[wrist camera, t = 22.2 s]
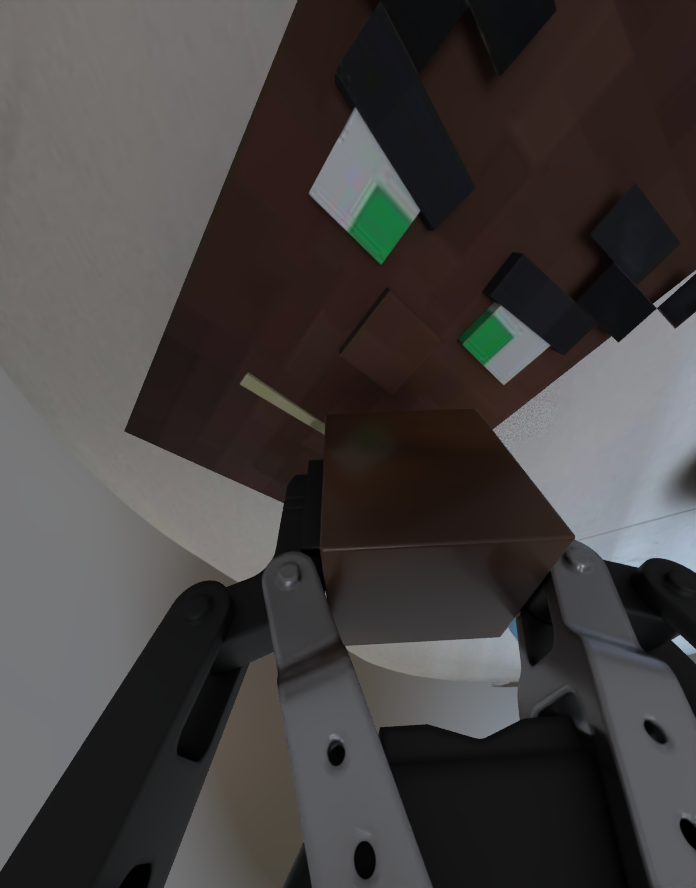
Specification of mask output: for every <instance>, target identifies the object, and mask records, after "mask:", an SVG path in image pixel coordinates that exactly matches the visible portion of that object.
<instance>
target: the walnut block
mask: <svg viewBox="0 0 696 888" xmlns="http://www.w3.org/2000/svg"><path fill="white" fill-rule="evenodd" d="M574 539H575V535H574V534H573V532H572V531H571V530H570V529H569V527H568V526H567V525H566V523H565V522H564V521H563V520H562V518H561V517H560V516H559V515H558V513H557V512H556V511H555V509H554V508H553V507H552V506H551V504H550V503H549V502H548V500H547V499H546V498H545V497H544V495H543V494H542V493H541V492H540V490H539V489H538V488H537V486H536V485H535V484H534V483H533V481H532V480H531V479H530V477H529V476H528V475H527V474H526V472H525V471H524V470H523V469H522V467H521V466H520V465H519V463H518V462H517V461H516V460H515V458H514V457H513V456H512V454H511V453H510V452H509V451H508V449H507V448H506V447H505V446H504V444H503V443H502V442H501V440H500V439H499V438H498V437H497V435H496V434H495V433H494V432H493V430H492V429H491V428H490V426H489V425H488V424H487V423H486V421H485V420H484V419H483V417H482V416H481V415H480V414H479V412H478V411H477V410H476V409H474V408H472V409H448V410H424V411H400V412H375V413H351V414H328V415H326V416H325V435H324V459H323V482H322V506H321V529H320V555H321V562H322V569H323V576H324V582H325V589H326V596H327V601H328V604H329V607H330V610H331V613H332V615H333V618H334V621H335V624H336V627H337V630H338V632H339V635H340V638H341V640H342V642H343V644H344V645H345V646H349V645H367V644H385V643H403V642H421V641H438V640H456V639H474V638H492V637H500V636H501V635H502V634H503V633H504V631H505V630H506V629H507V627H508V626H509V625H510V623H511V622H512V621H513V619H514V618H515V617H516V615H517V614H518V613H519V612H520V610H521V609H522V608H523V606H524V605H525V604H526V602H527V601H528V600H529V598H530V597H531V596H532V594H533V593H534V592H535V591H536V589H537V588H538V587H539V585H540V584H541V583H542V581H543V580H544V579H545V577H546V576H547V575H548V574H549V572H550V571H551V570H552V568H553V567H554V566H555V564H556V563H557V562H558V560H559V559H560V558H561V556H562V555H563V554H564V553H565V551H566V550H567V549H568V547H569V546H570V545H571V543H572V542H573V541H574Z"/></svg>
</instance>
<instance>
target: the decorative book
mask: <svg viewBox="0 0 696 888" xmlns="http://www.w3.org/2000/svg"><path fill="white" fill-rule="evenodd" d="M695 270H696V0H298V1H297V3H296V6H295V8H294V11H293V13H292V16H291V18H290V21H289V23H288V26H287V28H286V31H285V33H284V36H283V38H282V41H281V43H280V46H279V48H278V51H277V53H276V55H275V58H274V60H273V63H272V65H271V68H270V70H269V73H268V75H267V78H266V80H265V83H264V85H263V88H262V90H261V93H260V95H259V98H258V100H257V103H256V105H255V108H254V110H253V113H252V115H251V118H250V120H249V123H248V125H247V128H246V130H245V133H244V135H243V137H242V140H241V142H240V145H239V147H238V150H237V152H236V155H235V157H234V160H233V162H232V165H231V167H230V170H229V172H228V175H227V177H226V180H225V182H224V185H223V187H222V190H221V192H220V195H219V197H218V200H217V202H216V205H215V207H214V210H213V212H212V214H211V217H210V219H209V222H208V224H207V227H206V229H205V232H204V234H203V237H202V239H201V242H200V244H199V247H198V249H197V252H196V254H195V257H194V259H193V262H192V264H191V267H190V269H189V272H188V274H187V277H186V279H185V282H184V284H183V287H182V289H181V292H180V294H179V296H178V299H177V301H176V304H175V306H174V309H173V311H172V314H171V316H170V319H169V321H168V324H167V326H166V329H165V331H164V334H163V336H162V339H161V341H160V344H159V346H158V349H157V351H156V354H155V356H154V359H153V361H152V364H151V366H150V369H149V371H148V374H147V376H146V378H145V381H144V383H143V386H142V388H141V391H140V393H139V396H138V398H137V401H136V403H135V406H134V408H133V411H132V413H131V416H130V418H129V421H128V423H127V426H126V428H125V432H127V433H129V434H131V435H134V436H136V437H138V438H140V439H143V440H145V441H147V442H149V443H152V444H154V445H156V446H158V447H160V448H163V449H165V450H167V451H169V452H172V453H174V454H176V455H178V456H180V457H183V458H185V459H187V460H189V461H192V462H194V463H196V464H198V465H200V466H203V467H205V468H207V469H209V470H212V471H214V472H216V473H218V474H220V475H223V476H225V477H227V478H229V479H232V480H234V481H236V482H238V483H241V484H243V485H245V486H247V487H249V488H252V489H254V490H256V491H258V492H261V493H263V494H265V495H267V496H269V497H272V498H274V499H276V500H278V501H281V502H283V503H284V501H285V495H286V489H287V485H288V484H289V482H290V481H291V480H292V478H293V477H294V475H305V474H307V473H308V463H309V460H319V459H324V435H325V416H326V415H328V414H351V413H375V412H400V411H424V410H448V409H472V408H474V409H476V410H477V411H478V412H479V414H480V415H481V416H482V417H483V419H484V420H485V421H486V423H487V424H488V425H489V426H490V428H491V429H492V430H493V429H494V428H495V427H496V426H498V425H499V424H500V423H501V422H503V421H504V420H505V419H507V418H508V417H509V416H510V415H512V414H513V413H514V412H516V411H517V410H518V409H519V408H521V407H522V406H523V405H524V404H526V403H527V402H528V401H530V400H531V399H532V398H533V397H535V396H536V395H537V394H538V393H540V392H541V391H542V390H544V389H545V388H546V387H547V386H549V385H550V384H551V383H552V382H554V381H555V380H556V379H558V378H559V377H560V376H561V375H563V374H564V373H565V372H566V371H568V370H569V369H570V368H572V367H573V366H574V365H575V364H577V363H578V362H579V361H580V360H582V359H583V358H584V357H586V356H587V355H588V354H589V353H591V352H592V351H593V350H594V349H596V348H597V347H598V346H600V345H601V344H602V343H603V342H605V341H606V340H607V339H608V338H610V337H611V336H612V337H613V338H614V339H615V340H616V341H617V342H620V341H621V340H622V339H623V338H624V337H625V336H626V335H627V334H629V333H630V332H631V331H632V330H633V329H634V328H635V327H636V326H638V325H639V324H640V323H641V322H642V321H643V320H644V319H645V318H647V317H648V316H649V315H650V314H651V313H652V312H653V311H654V310H656V309H658V310H659V311H660V313H661V314H662V315H663V316H664V317H665V318H666V319H667V320H668V321H669V323H670V324H671V325H672V326H673V327H674V328H677V327H678V326H679V325H680V324H681V323H683V322H684V321H685V320H686V319H687V318H689V317H690V316H691V315H692V314H693V313H695V312H696V274H695V275H694V276H693V277H691V278H690V279H689V280H688V281H687V282H686V283H685V284H684V285H682V286H681V287H680V288H679V289H678V290H677V291H676V292H675V293H674V294H672V295H671V296H670V297H669V298H668V299H667V300H666V301H665V302H663V303H662V304H661V305H660V306H659V307H658V308H656V307H655V306H654V305H653V303H654V302H656V301H657V300H658V299H659V298H661V297H662V296H663V295H664V294H666V293H667V292H668V291H670V290H671V289H672V288H673V287H675V286H676V285H677V284H678V283H680V282H681V281H682V280H684V279H685V278H686V277H687V276H689V275H690V274H691V273H692V272H694V271H695Z"/></svg>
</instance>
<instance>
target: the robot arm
mask: <svg viewBox="0 0 696 888" xmlns="http://www.w3.org/2000/svg"><path fill="white" fill-rule="evenodd" d="M322 482H323V459H319V460H309V463H308V473H307V474H305V475H294V477H293V478H292V480H291V481H290V482H289V484H288V485H287V489H286V495H285V501H284V506H283V512H282V518H281V523H280V529H279V535H278V540H277V546H276V551H275V554H274V557H273V559H272V560H271V562H270V563H269V564H268V565H267V567H266V568H265V569H264V570H263V571H261V572H260V573H259V574H257V575H255V576H254V577H251V578H249V579H247V580H244V581H241V582H239V583H236V584H233V585H231V586H228V587H225V586H224V585H223V584H221V583H220V582H217V581H203V582H199V583H197V584H195V585H193V586H191V587H190V588H188V589H187V590H185V591H184V592H183V593H182V594H181V595H180V596H179V597H178V598H177V599H176V600H175V602H174V603H173V605H172V606H171V608H170V609H169V611H168V613H167V614H166V616H165V617H164V619H163V620H162V622H161V623H160V625H159V627H158V628H157V629H156V631H155V633H154V634H153V636H152V637H151V639H150V640H149V642H148V643H147V645H146V647H145V648H144V650H143V651H142V653H141V655H140V656H139V657H138V659H137V660H136V662H135V664H134V665H133V667H132V668H131V670H130V672H129V673H128V675H127V676H126V678H125V679H124V681H123V682H122V684H121V685H120V687H119V688H118V690H117V692H116V693H115V695H114V696H113V698H112V699H111V701H110V702H109V704H108V705H107V707H106V709H105V710H104V712H103V713H102V715H101V716H100V718H99V720H98V721H97V723H96V724H95V726H94V727H93V729H92V730H91V732H90V733H89V735H88V737H87V738H86V740H85V741H84V743H83V744H82V746H81V748H80V749H79V751H78V752H77V754H76V755H75V757H74V758H73V760H72V761H71V763H70V765H69V766H68V768H67V769H66V771H65V772H64V774H63V775H62V777H61V778H60V780H59V782H58V783H57V785H56V786H55V788H54V789H53V791H52V792H51V794H50V796H49V797H48V799H47V800H46V802H45V803H44V805H43V807H42V808H41V809H40V811H39V813H38V814H37V816H36V817H35V819H34V820H33V822H32V823H31V825H30V827H29V828H28V830H27V831H26V833H25V834H24V836H23V837H22V839H21V841H20V842H19V844H18V845H17V847H16V848H15V850H14V851H13V853H12V855H11V856H10V858H9V859H8V861H7V863H6V864H5V865H4V867H3V868H2V870H1V871H0V888H164V885H165V883H166V880H167V877H168V875H169V872H170V870H171V867H172V865H173V862H174V859H175V857H176V854H177V852H178V849H179V846H180V844H181V841H182V838H183V836H184V833H185V831H186V828H187V825H188V823H189V820H190V818H191V815H192V812H193V809H194V807H195V804H196V802H197V799H198V797H199V794H200V791H201V789H202V786H203V784H204V781H205V778H206V776H207V773H208V771H209V768H210V765H211V763H212V760H213V757H214V755H215V752H216V749H217V747H218V744H219V742H220V739H221V737H222V734H223V731H224V729H225V726H226V723H227V721H228V718H229V715H230V713H231V710H232V708H233V705H234V703H235V700H236V697H237V695H238V692H239V689H240V687H241V684H242V682H243V679H244V676H245V674H246V671H247V668H248V666H249V663H250V662H252V661H254V660H256V659H259V658H261V657H263V656H265V655H267V654H269V653H271V652H274V653H275V658H276V664H277V671H278V678H277V685H278V693H279V700H280V707H281V713H282V718H283V724H284V730H285V735H286V741H287V747H288V752H289V758H290V764H291V769H292V775H293V781H294V787H295V792H296V798H297V804H298V809H299V815H300V821H301V826H302V832H303V838H304V842H303V844H302V846H301V848H300V851H299V853H298V855H297V857H296V859H295V862H294V864H293V866H292V868H291V871H290V872H289V875H288V877H287V879H286V881H285V883H284V886H283V888H696V664H695V663H694V662H693V661H692V660H691V659H690V658H689V657H688V656H687V655H686V654H685V653H684V652H683V651H682V650H681V649H680V648H679V647H678V646H677V645H676V644H674V643H673V642H672V641H671V640H672V639H674V638H675V637H677V636H679V635H681V636H682V637H684V638H685V639H686V640H687V641H688V642H689V643H690V644H691V645H692V646H693V647H694V648H695V649H696V573H695V572H693V571H692V570H690V569H688V568H686V567H685V566H683V565H681V564H678V563H676V562H673V561H670V560H666V559H661V558H652V559H649V560H647V561H646V562H644V563H643V564H642V565H641V566H640V567H639V568H637V567H632V566H628V565H624V564H619V563H615V562H610V561H606V560H603V559H602V558H601V557H600V556H599V555H598V554H597V553H596V552H595V551H594V550H592V549H591V548H589V547H588V546H586V545H585V544H583V543H581V542H578V541H576V540H574V541H573V542H572V543H571V545H570V546H569V547H568V549H567V550H566V551H565V553H564V554H563V555H562V556H561V558H560V559H559V560H558V562H557V563H556V564H555V566H554V567H553V568H552V570H551V571H550V572H549V574H548V575H547V576H546V577H545V579H544V580H543V581H542V583H541V584H540V585H539V587H538V588H537V589H536V591H535V592H534V593H533V594H532V596H531V597H530V598H529V600H528V601H527V602H526V604H525V605H524V606H523V608H522V609H521V610H520V612H519V613H518V614H517V615H516V617H515V619H516V627H517V635H518V643H519V651H520V659H521V675H520V679H519V683H518V708H519V716H520V721H518V722H516V723H514V724H512V725H510V726H508V727H506V728H504V729H502V730H500V731H498V732H496V733H494V734H492V735H490V736H488V737H486V738H483V739H477V738H472V737H469V736H466V735H462V734H459V733H456V732H452V731H449V730H445V729H441V728H438V727H435V726H431V725H428V724H425V725H409V726H394V727H380V730H379V735H378V733H377V731H376V728H375V725H374V722H373V720H372V717H371V714H370V711H369V708H368V706H367V703H366V700H365V697H364V694H363V692H362V689H361V686H360V683H359V680H358V678H357V675H356V672H355V670H354V667H353V664H352V661H351V659H350V656H349V654H348V651H347V649H346V647H345V645H344V644H343V642H342V640H341V638H340V635H339V632H338V630H337V627H336V624H335V621H334V618H333V615H332V613H331V610H330V607H329V604H328V601H327V598H326V595H325V591H326V589H325V582H324V576H323V569H322V562H321V555H320V529H321V506H322Z"/></svg>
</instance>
